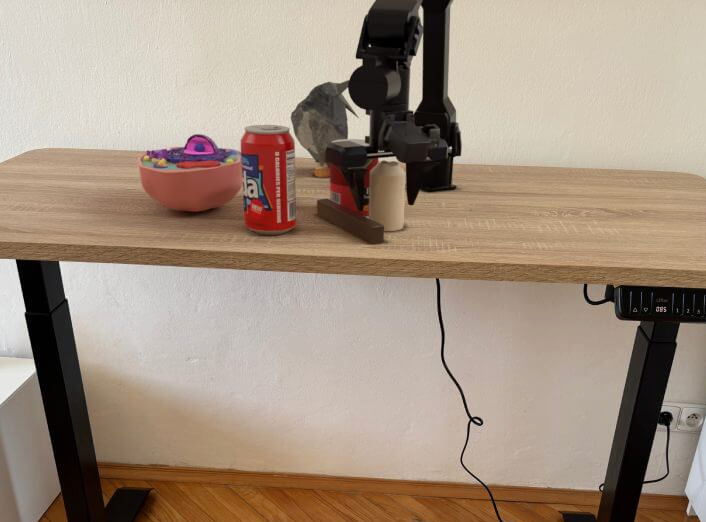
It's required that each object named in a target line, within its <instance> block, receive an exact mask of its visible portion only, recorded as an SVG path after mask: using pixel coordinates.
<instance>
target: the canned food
mask: <svg viewBox="0 0 706 522" xmlns="http://www.w3.org/2000/svg"><path fill="white" fill-rule="evenodd" d="M341 141H352V142H354V143H357V144H360V145H363V146H369V144H367V143H365V139H358V138H348V139H340V140H335V141H332V142H341ZM378 152H380V151H378ZM378 163H379V158H373V159H367V161H366V163H365V164H364V165H363V167H365V168H367V169H368V171H367V173H366V175H365V177H364V209H363V211H362V212H360V211H358V209H357V207H356V204H355V202H354V199H353V197H352V194H351V192H350V189H349V187H348V184H347V182H346V180H345V178H344V176H343V175H342V173H341V171H340V169H338V168H336V167H334V166H333V164H331V163H330V177H329V200H332V201H334V202H336V203H338V204H340V205H342V206H344V207H346V208H348V209H350V210H352V211H354V212H357V213H359V214H361V215H363V216H369V190H370V171H371V170H372V168H374V167H375V166H376V165H377V164H378Z"/></svg>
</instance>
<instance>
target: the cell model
mask: <svg viewBox="0 0 706 522" xmlns="http://www.w3.org/2000/svg"><path fill="white" fill-rule="evenodd" d="M136 161H137V165H138V170H139V175H140V183H141V187H142V188H143V190H144V191H145V193H146V194H147V195H148V196H149V197H150V198H151V199H153V200H154V201H156V202H157V203H159V204H160V205H162V206H164V207H165V208H167V209H169V210H173V211H183V212H193V213H194V212H195V213H196V212H201V213H202V212H205V211H207V210H210V209H216V208H219V207H222V206H225V205H227V204H229V203H230V202H232V201H233V200H234V198H235V197H237V195H238V193H240V191H241V189H242V188H243V182H242V162H241V151H239V150H237V149H233V148H221V147H218V145H217V143H216V142H215V141H214V140H213V138H212V137H209V136H207V135H206V134H202V133H197V134H192V135H191V136H189V137H188V138H187V141H186V143H185V144H184V146H174V147H173V146H171V147H168V148H167V147H166V148H162V149H151V150H148V149H147V150H146V152H144V153H142V154H140V155H139V156H138V157H137V159H136Z"/></svg>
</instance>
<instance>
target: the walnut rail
mask: <svg viewBox="0 0 706 522" xmlns="http://www.w3.org/2000/svg"><path fill="white" fill-rule="evenodd" d="M316 215H317V216H319V217H320V218H323V219H324V220H326V221H328V222H330V223H332V224H334V225H335V226H337V227H340V228H342V229H343V230H345V231H347V232H349V233H350V234H353V235H355V236H357V237H359V238H361V239H363V240H365V241H366V242H368V243H370V244H372V245H374V244H381V243H384V242H385V231H384V225H382V224H380V223H377V222H375V221H373V220H371V219H369V217H367V216H366V215H364V216H363V215H361V214H359V213H357V212H354V211H352V210H350V209H348V208H346V207H344V206H342V205H340V204H338V203H336V202H334V201H332V200H330V198H321V199H317V200H316Z"/></svg>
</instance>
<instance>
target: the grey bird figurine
mask: <svg viewBox="0 0 706 522" xmlns="http://www.w3.org/2000/svg"><path fill="white" fill-rule="evenodd" d="M349 80H350V79H347V80H345V81H342V82H332V81H327V82H323V83H321V84H318V85H316V86H314V87H313V88H312V89H311V90H310V92H309V93H308V95H307V96H306V97H305V98H304V99H303V100H301V101H300V102H299V103H298V104H297V105H296V106H295V109H294V110H293V111H291V114H290V121H291V124H292V129H293V133H294V136H295V138H296V140H297V141H298V142H299V144H300V146H301V147H302V148H304V149H305V150H306V151H307V152H308V153H309V155H310V156H311V157H312V158H313V160H314V176H315V177H317V178H330V163H329V162H326V161H325V150H326V148H327V146H328V145H329V143H330V142H332V141H335V140H340V139H349V124H348V115H347V110H348V111H349V113H351V114H352V115H354V116H355V117H356V118H357V119H360V117H359V116H358V115H357V113H356V112H355V110H354V109H353V107H352V106H351V105H350V103H349V102H348V100H347V99H346V98H345V96H344V95H343V93H344V92H345V91H346V90H348V82H349Z"/></svg>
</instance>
